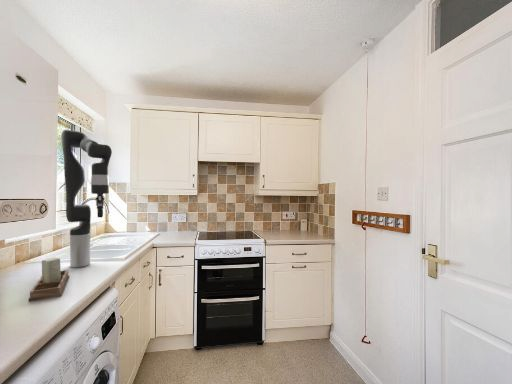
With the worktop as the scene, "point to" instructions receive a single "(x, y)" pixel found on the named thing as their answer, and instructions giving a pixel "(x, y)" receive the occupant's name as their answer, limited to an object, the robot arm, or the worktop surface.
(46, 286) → the tray
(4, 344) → the worktop surface
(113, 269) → the worktop surface
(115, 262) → the worktop surface
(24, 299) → the worktop surface
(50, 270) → the box
